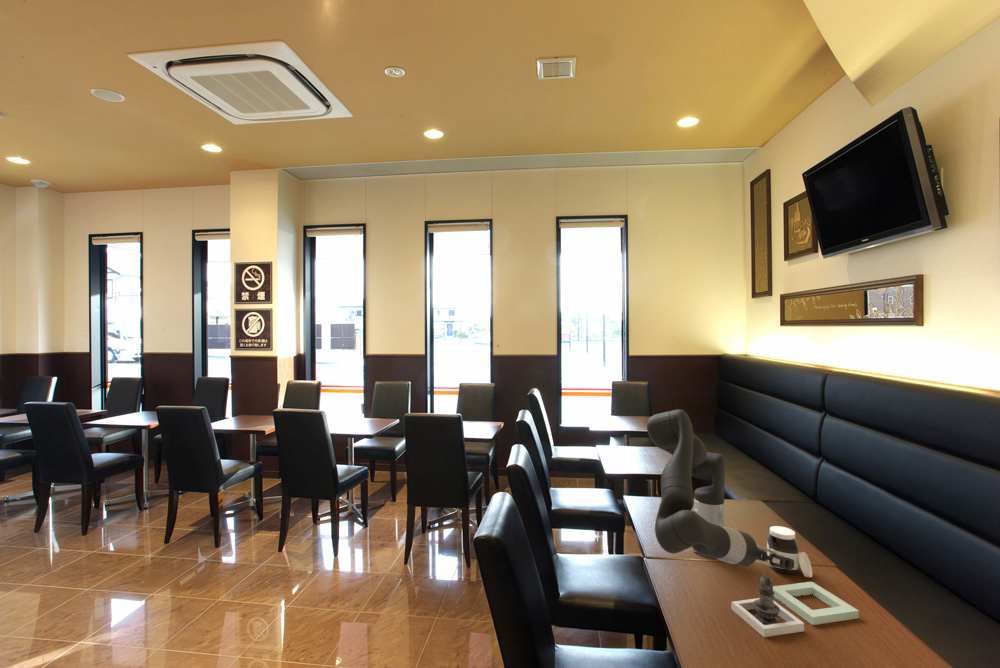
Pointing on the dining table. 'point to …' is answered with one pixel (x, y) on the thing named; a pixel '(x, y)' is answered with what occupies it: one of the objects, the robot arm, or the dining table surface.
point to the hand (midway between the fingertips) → (774, 557)
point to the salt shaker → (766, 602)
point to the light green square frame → (819, 616)
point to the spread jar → (788, 549)
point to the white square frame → (773, 629)
